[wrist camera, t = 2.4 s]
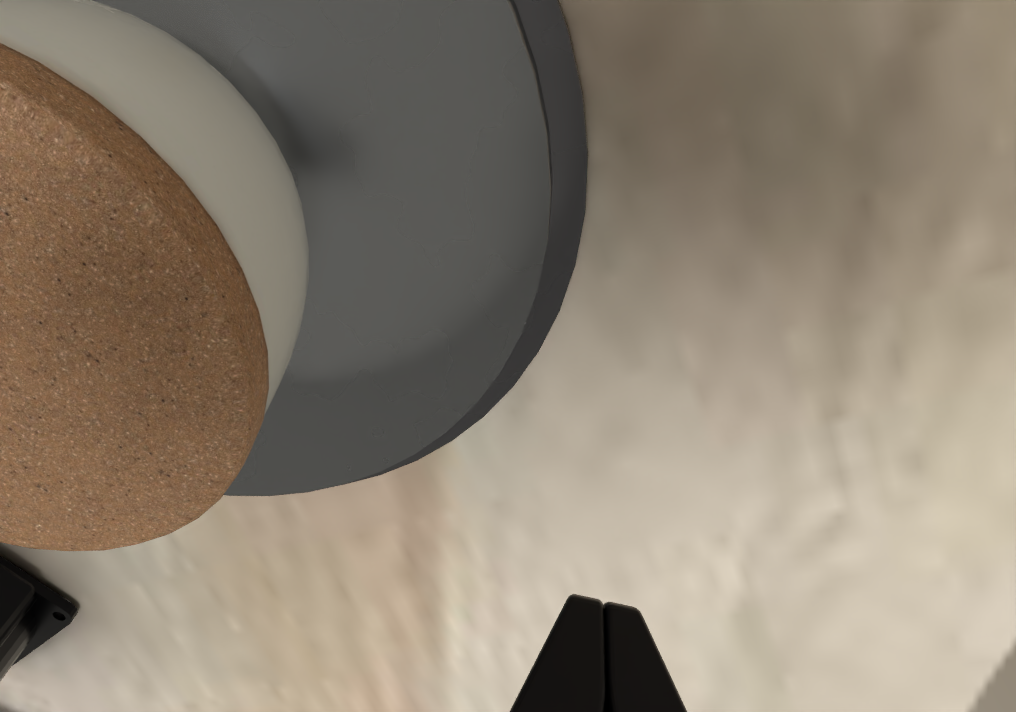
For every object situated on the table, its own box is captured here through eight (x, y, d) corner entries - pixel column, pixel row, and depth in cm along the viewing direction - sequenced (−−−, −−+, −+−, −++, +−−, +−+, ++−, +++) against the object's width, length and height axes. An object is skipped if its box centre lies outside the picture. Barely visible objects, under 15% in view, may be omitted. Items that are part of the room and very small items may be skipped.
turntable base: (242, 574, 29) (238, 580, 28) (-379, 114, 21) (-392, 117, 21) (768, 226, 19) (770, 231, 19) (-21, -811, 12) (-34, -826, 12)
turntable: (365, 566, 27) (335, 651, 24) (-248, 290, 23) (-368, 351, 21) (910, -263, 14) (987, -290, 11) (-312, -1168, 10) (-671, -1557, 7)
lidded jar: (-157, -1, 18) (-710, 144, 11) (259, -128, 16) (-67, -58, 8) (87, 370, 24) (-157, 636, 16) (419, 319, 22) (314, 602, 14)
